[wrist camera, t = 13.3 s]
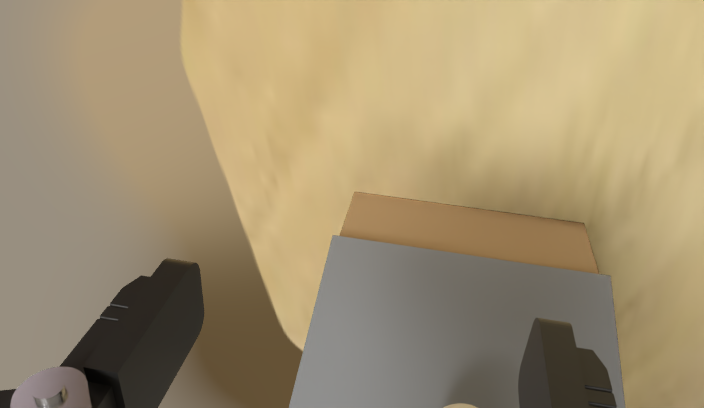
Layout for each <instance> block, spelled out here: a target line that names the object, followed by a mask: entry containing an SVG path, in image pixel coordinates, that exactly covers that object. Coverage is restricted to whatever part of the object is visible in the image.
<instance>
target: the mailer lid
mask: <svg viewBox="0 0 704 408" xmlns="http://www.w3.org/2000/svg"><path fill="white" fill-rule="evenodd" d="M535 318H543V319H549V320H556V321H562V322H568V323H570V324H571V325H572V328H573V333H574V338H575V342H576V347H578V348H584V349H590V350H593V351H594V352H595V354H596V355H597V356H598V358H599V359H600V360H601V362H602V363H603V364H604V366H605V367H606V368H607V370H608V374H609V378H610V382H611V386H612V389H613V390H612V393H613V394H614V397H615V401H616V405H617V408H625V400H624V391H623V383H622V374H621V365H620V356H619V347H618V338H617V329H616V320H615V311H614V303H613V294H612V285H611V276H608V275H602V274H595V273H588V272H581V271H574V270H568V269H561V268H554V267H547V266H540V265H534V264H527V263H520V262H513V261H506V260H499V259H493V258H486V257H479V256H472V255H465V254H459V253H452V252H445V251H438V250H431V249H425V248H418V247H411V246H404V245H397V244H391V243H384V242H377V241H370V240H363V239H356V238H350V237H343V236H336V235H333V236H332V240H331V244H330V248H329V252H328V256H327V260H326V264H325V268H324V272H323V276H322V279H321V283H320V287H319V291H318V295H317V299H316V303H315V307H314V311H313V315H312V319H311V323H310V327H309V331H308V335H307V338H306V342H305V346H304V350H303V355H302V358H301V362H300V366H299V370H298V374H297V378H296V382H295V386H294V390H293V394H292V398H291V402H290V405H289V408H520V407H519V395H518V379H519V371H520V366H521V362H522V358H523V355H524V352H525V348H526V345H527V342H528V338H529V335H530V332H531V328H532V325H533V322H534V320H535Z"/></svg>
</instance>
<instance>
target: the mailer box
mask: <svg viewBox="0 0 704 408" xmlns="http://www.w3.org/2000/svg"><path fill="white" fill-rule="evenodd" d="M340 236H343V237H350V238H356V239H363V240H370V241H377V242H384V243H391V244H397V245H404V246H411V247H418V248H425V249H431V250H438V251H445V252H452V253H459V254H465V255H472V256H479V257H486V258H493V259H499V260H506V261H513V262H520V263H527V264H534V265H540V266H547V267H554V268H561V269H568V270H574V271H581V272H588V273H595V274H599V272H598V268H597V265H596V262H595V259H594V255H593V252H592V249H591V245H590V242H589V239H588V235H587V232H586V229H585V225H584V223H578V222H571V221H564V220H556V219H549V218H542V217H535V216H527V215H520V214H513V213H505V212H498V211H491V210H484V209H476V208H469V207H462V206H454V205H447V204H440V203H432V202H425V201H418V200H411V199H403V198H396V197H389V196H381V195H374V194H367V193H359V192H354V195H353V198H352V201H351V204H350V207H349V210H348V212H347V215H346V218H345V221H344V224H343V227H342V230H341V233H340Z"/></svg>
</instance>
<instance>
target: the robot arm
mask: <svg viewBox="0 0 704 408" xmlns="http://www.w3.org/2000/svg"><path fill="white" fill-rule="evenodd" d="M203 319H204V304H203V295H202V286H201V277H200V269H199V266H198V264H197V263H193V262H187V261H181V260H175V259H165V260H164V261H162V263H161V264H160V265H159V267H158V268H157V269H156V271H155V272H154V273H153V275H152V276H151V277H147V276H140V277H139V278H137V279H135V280H134V281H132V282H131V283H129V284H128V285H126V286H125V287H123V288H122V289H121V290H120V292H119V293H118V294H117V295H116V297H115V298H114V299H113V301H112V302H111V303H110V306H108V307H107V308H106V309H105V310H104V312H103V313H102V314H101V316H100V319H97V320H96V322H95V323H94V324H93V325H92V327H91V328H90V329H89V331H88V332H87V333H86V334H85V335H84V337H83V338H82V339H81V340H80V342H79V343H78V344H77V346H76V347H75V348H74V349H73V351H72V352H71V353H70V354H69V355H68V357H67V358H66V359H65V360H64V362H63V363H62V364H61V365H60V366H59V367H53V368H48V369H45V370H42V371H40V372H38V373H36V374H34V375H32V376H30V377H29V378H27V379H26V380H25V381H24V382H23V383H22V384H21V385H19V387H18V388H17V389H12V390H3V391H0V408H158V406H159V404H160V403H161V401H162V399H163V397H164V396H165V394H166V392H167V390H168V389H169V387H170V385H171V383H172V382H173V380H174V378H175V376H176V375H177V372H178V371H179V369H180V367H181V366H182V364H183V362H184V360H185V359H186V357H187V355H188V353H189V351H190V350H191V348H192V346H193V344H194V343H195V341H196V339H197V337H198V335H199V333H200V331H201V328H202V324H203ZM612 390H613V389H612V386H611V382H610V378H609V374H608V370H607V368H606V367H605V366H604V364H603V363H602V362H601V360H600V359H599V358H598V356H597V355H596V354H595V352H594V351H593V350H590V349H584V348H578V347H576V342H575V338H574V333H573V328H572V325H571V324H570V323H568V322H562V321H556V320H549V319H543V318H535V320H534V322H533V325H532V328H531V332H530V335H529V338H528V342H527V345H526V348H525V352H524V355H523V358H522V362H521V366H520V371H519V379H518V395H519V407H520V408H617V405H616V401H615V397H614V394H613V393H612Z"/></svg>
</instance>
